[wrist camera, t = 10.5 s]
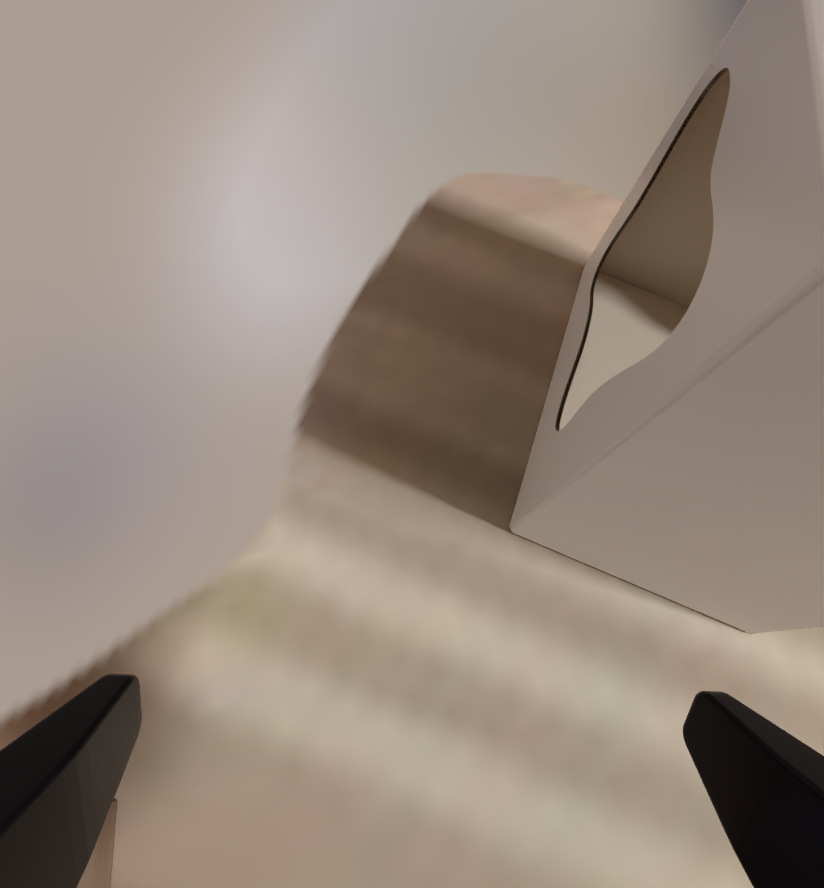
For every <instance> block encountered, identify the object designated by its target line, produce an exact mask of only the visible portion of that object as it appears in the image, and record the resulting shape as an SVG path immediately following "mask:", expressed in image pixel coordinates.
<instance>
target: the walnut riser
mask: <svg viewBox="0 0 824 888" xmlns="http://www.w3.org/2000/svg"><path fill="white" fill-rule="evenodd" d="M116 809H117V800H114V801H113V802H112V804H111V807H110V809H109V812H108V815H107V817H106V820H105V822H104V825H103V827H102V830H101V833H100V835H99V838H98V840H97V843H96V845H95V848H94V850H93V853H92V855H91V858H90V860H89V862H88V864H87V867H86V869H85V871H84V873H83V875H82V877H81V880H80V882H79V884H78V886H77V888H110V883H111V871H112V858H113V846H114V834H115V821H116Z"/></svg>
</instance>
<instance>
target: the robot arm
mask: <svg viewBox="0 0 824 888" xmlns="http://www.w3.org/2000/svg"><path fill="white" fill-rule="evenodd" d="M141 720H142V713H141V698H140V683H139V679H138V677H137V676H135V675H130V674H109V675H106V676H104V677H102V678H100V679H99V680H97V681H96V682H95V683H93V684H92V685H91V686H89V687H88V688H86V689H85V690H84V691H82V692H81V693H80V694H78V695H77V696H75V697H74V698H73V699H71V700H70V701H68V702H67V703H66V704H64V705H63V706H62V707H60V708H59V709H57V710H56V711H55V712H53V713H52V714H51V715H49V716H48V717H46V718H45V719H44V720H42V721H41V722H39V723H38V724H37V725H35V726H34V727H33V728H31V729H30V730H28V731H27V732H26V733H24V734H23V735H21V736H20V737H19V738H17V739H16V740H15V741H13V742H12V743H10V744H9V745H8V746H6V747H5V748H4V749H2V750H1V751H0V888H77V886H78V884H79V882H80V880H81V877H82V875H83V873H84V871H85V869H86V867H87V864H88V862H89V860H90V858H91V855H92V853H93V850H94V848H95V845H96V843H97V840H98V838H99V835H100V833H101V830H102V827H103V825H104V822H105V820H106V817H107V815H108V812H109V809H110V807H111V804H112V802H113V799H114V796H115V794H116V791H117V789H118V786H119V783H120V781H121V778H122V776H123V773H124V770H125V768H126V765H127V763H128V760H129V757H130V755H131V752H132V750H133V747H134V745H135V742H136V739H137V737H138V734H139V730H140V726H141ZM683 737H684V741H685V744H686V746H687V748H688V750H689V753H690V755H691V757H692V759H693V762H694V764H695V766H696V768H697V770H698V773H699V775H700V777H701V779H702V781H703V784H704V786H705V788H706V790H707V793H708V795H709V797H710V799H711V801H712V804H713V806H714V808H715V810H716V813H717V815H718V817H719V819H720V821H721V824H722V826H723V828H724V830H725V832H726V834H727V837H728V839H729V841H730V843H731V845H732V847H733V849H734V851H735V853H736V855H737V857H738V859H739V861H740V863H741V865H742V867H743V869H744V870H745V872H746V874H747V876H748V878H749V880H750V882H751V883H752V885H753V887H754V888H824V756H823V755H821V754H820V753H818V752H817V751H815V750H813V749H812V748H810V747H809V746H807V745H806V744H804V743H803V742H801V741H800V740H798V739H796V738H795V737H793V736H792V735H790V734H789V733H787V732H786V731H784V730H783V729H781V728H779V727H778V726H776V725H775V724H773V723H772V722H770V721H769V720H767V719H766V718H764V717H762V716H761V715H759V714H758V713H756V712H755V711H753V710H752V709H750V708H748V707H747V706H745V705H744V704H742V703H741V702H739V701H738V700H736V699H735V698H733V697H731V696H730V695H728V694H726V693H724V692H716V691H701V692H699V693H698V694H697V695H696V696H695V698H694V700H693V703H692V705H691V708H690V710H689V713H688V715H687V718H686V720H685V723H684V726H683Z"/></svg>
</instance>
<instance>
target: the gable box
mask: <svg viewBox="0 0 824 888" xmlns="http://www.w3.org/2000/svg"><path fill="white" fill-rule="evenodd" d="M509 528H510V529H511V531H512V533H514V534H517V535H519V536H521V537H524V538H526V539H529V540H531V541H533V542H536V543H538V544H540V545H543V546H545V547H547V548H550V549H552V550H554V551H557V552H559V553H562V554H564V555H566V556H569V557H571V558H573V559H576V560H578V561H580V562H583V563H585V564H587V565H590V566H592V567H595V568H597V569H599V570H602V571H604V572H606V573H609V574H611V575H613V576H616V577H618V578H620V579H623V580H625V581H628V582H630V583H632V584H635V585H637V586H639V587H642V588H644V589H646V590H649V591H651V592H653V593H656V594H658V595H661V596H663V597H665V598H668V599H670V600H672V601H675V602H677V603H679V604H682V605H684V606H686V607H689V608H691V609H694V610H696V611H698V612H701V613H703V614H705V615H708V616H710V617H712V618H715V619H717V620H719V621H722V622H724V623H727V624H729V625H731V626H734V627H736V628H738V629H741V630H743V631H745V632H748V633H750V634H754V633H764V632H774V631H784V630H793V629H803V628H813V627H823V626H824V0H748V1H747V2H746V4H745V6H744V7H743V9H742V10H741V12H740V14H739V15H738V17H737V19H736V20H735V22H734V23H733V25H732V27H731V28H730V30H729V32H728V33H727V35H726V36H725V38H724V40H723V41H722V43H721V45H720V46H719V48H718V50H717V51H716V53H715V55H714V56H713V58H712V60H711V61H710V63H709V64H708V66H707V67H706V69H705V71H704V72H703V74H702V76H701V77H700V79H699V80H698V82H697V84H696V85H695V87H694V89H693V90H692V92H691V94H690V95H689V97H688V98H687V100H686V102H685V104H684V105H683V107H682V108H681V110H680V111H679V113H678V115H677V116H676V118H675V119H674V121H673V123H672V125H671V126H670V128H669V129H668V131H667V133H666V134H665V136H664V137H663V139H662V141H661V142H660V144H659V146H658V147H657V149H656V150H655V152H654V154H653V155H652V157H651V159H650V160H649V162H648V163H647V165H646V167H645V168H644V170H643V172H642V173H641V175H640V176H639V178H638V180H637V181H636V183H635V185H634V186H633V188H632V190H631V191H630V193H629V194H628V196H627V198H626V199H625V201H624V202H623V204H622V206H621V207H620V209H619V211H618V212H617V214H616V216H615V217H614V219H613V220H612V222H611V224H610V225H609V227H608V229H607V230H606V232H605V233H604V235H603V237H602V238H601V240H600V242H599V243H598V245H597V246H596V248H595V250H594V251H593V253H592V255H591V256H590V258H589V259H588V261H587V263H586V264H585V266H584V269H583V273H582V276H581V280H580V283H579V287H578V290H577V294H576V297H575V301H574V304H573V307H572V311H571V314H570V318H569V321H568V325H567V328H566V332H565V335H564V339H563V342H562V346H561V349H560V352H559V356H558V359H557V363H556V366H555V370H554V373H553V377H552V380H551V384H550V387H549V391H548V394H547V398H546V401H545V404H544V408H543V411H542V415H541V418H540V422H539V425H538V429H537V432H536V436H535V439H534V443H533V446H532V449H531V453H530V456H529V460H528V463H527V467H526V470H525V474H524V477H523V481H522V484H521V488H520V491H519V494H518V498H517V501H516V505H515V508H514V512H513V515H512V519H511V522H510V526H509Z"/></svg>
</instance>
